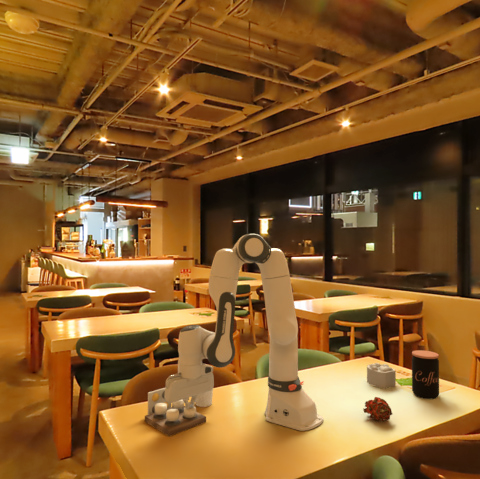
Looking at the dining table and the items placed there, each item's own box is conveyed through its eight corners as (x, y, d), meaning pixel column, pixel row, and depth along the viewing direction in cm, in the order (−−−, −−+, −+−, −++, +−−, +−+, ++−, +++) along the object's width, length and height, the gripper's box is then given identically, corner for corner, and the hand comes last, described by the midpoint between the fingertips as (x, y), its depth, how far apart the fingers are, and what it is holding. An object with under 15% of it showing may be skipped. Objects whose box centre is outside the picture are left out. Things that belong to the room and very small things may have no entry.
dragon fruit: (389, 431, 141) (366, 422, 152) (402, 413, 144) (379, 406, 155) (376, 413, 140) (354, 406, 151) (389, 395, 143) (367, 389, 154)
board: (206, 422, 144) (206, 416, 144) (169, 436, 133) (169, 429, 133) (180, 409, 156) (180, 403, 156) (144, 421, 145) (144, 415, 145)
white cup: (210, 408, 157) (210, 383, 157) (191, 406, 158) (191, 381, 159) (215, 401, 164) (215, 376, 165) (197, 399, 166) (197, 375, 166)
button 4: (169, 412, 145) (169, 405, 145) (158, 415, 142) (158, 408, 142) (162, 408, 148) (162, 401, 148) (152, 411, 145) (152, 405, 145)
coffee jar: (412, 397, 169) (412, 355, 169) (411, 389, 178) (411, 349, 179) (440, 401, 165) (439, 357, 165) (438, 392, 174) (437, 351, 175)
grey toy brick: (382, 389, 178) (382, 370, 179) (361, 381, 190) (361, 362, 190) (398, 385, 183) (398, 366, 184) (376, 377, 195) (376, 360, 195)
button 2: (181, 418, 139) (181, 411, 139) (170, 422, 136) (170, 415, 136) (174, 414, 142) (174, 407, 142) (163, 418, 139) (163, 411, 139)
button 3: (186, 406, 150) (186, 399, 150) (176, 409, 147) (176, 402, 147) (179, 403, 153) (179, 396, 153) (169, 406, 150) (169, 399, 150)
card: (171, 409, 155) (171, 386, 155) (149, 417, 148) (149, 393, 148) (170, 409, 156) (170, 386, 156) (147, 416, 149) (147, 392, 149)
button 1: (198, 415, 144) (198, 408, 145) (188, 418, 141) (188, 411, 142) (191, 411, 148) (191, 404, 148) (181, 415, 145) (181, 408, 145)
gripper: (171, 378, 136) (170, 419, 135) (216, 366, 150) (216, 403, 149) (161, 374, 140) (160, 413, 140) (206, 362, 154) (205, 398, 154)
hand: (189, 408), depth 145 cm, fingers closed, pressing on button 1
